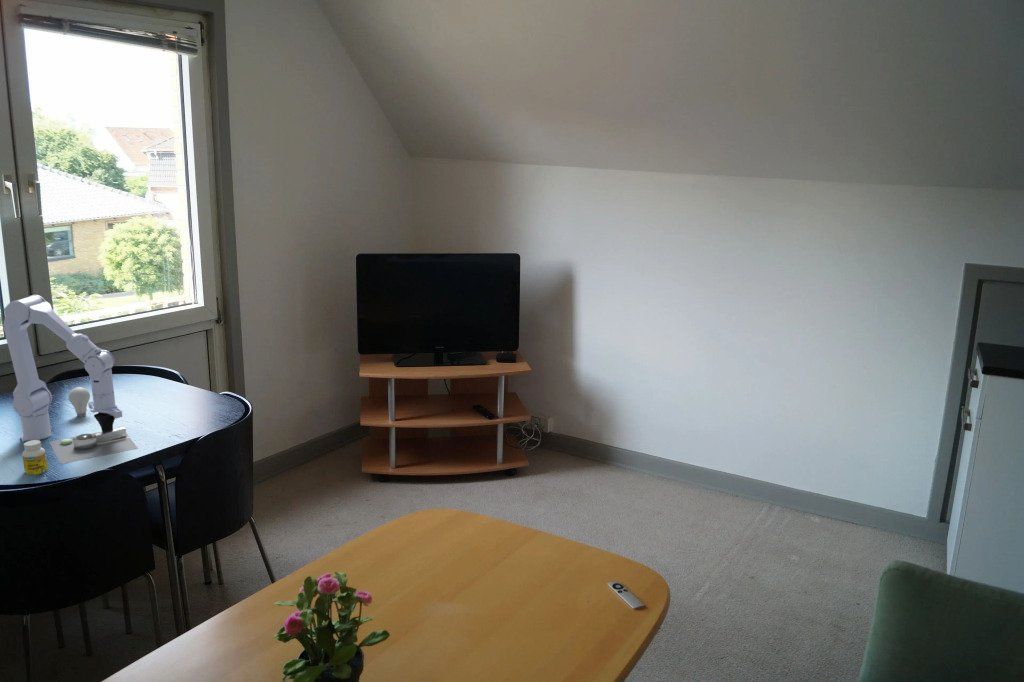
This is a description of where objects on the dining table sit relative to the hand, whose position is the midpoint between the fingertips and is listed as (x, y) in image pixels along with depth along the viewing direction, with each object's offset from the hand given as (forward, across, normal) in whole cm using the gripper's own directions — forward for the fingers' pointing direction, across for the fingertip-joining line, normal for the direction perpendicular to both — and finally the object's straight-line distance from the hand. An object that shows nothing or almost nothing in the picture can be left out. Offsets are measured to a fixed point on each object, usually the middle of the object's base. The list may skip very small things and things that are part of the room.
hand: (108, 435), depth 238 cm
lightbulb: (+3, -26, +6) cm, 27 cm away
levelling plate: (+3, +1, -5) cm, 6 cm away
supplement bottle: (+3, +6, -24) cm, 25 cm away
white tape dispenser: (+1, +1, -3) cm, 3 cm away
